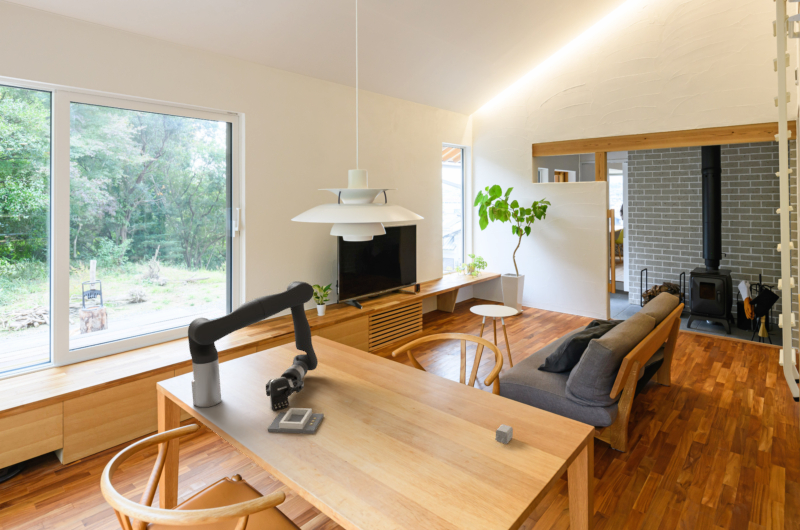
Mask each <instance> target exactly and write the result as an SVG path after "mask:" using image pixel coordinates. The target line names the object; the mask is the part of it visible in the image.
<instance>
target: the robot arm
mask: <svg viewBox="0 0 800 530" xmlns="http://www.w3.org/2000/svg"><path fill="white" fill-rule="evenodd" d="M314 293H315V290H314V287H313V286H312V285H311V284H310V283H308V282H304V281H292V282H291V283H289V284H288V285H287V287H286V290H284V291H282V292H278V293H275V294H269V295H264V296H259V297H257V298H254V299H253V298H252V299H251V300H249V301H246V302H244V303H242V304H241V305H239V306H238V307H237V308H235V309H234V310H232V311H231V312H230V313H228V314H226V315H223V316H221V317H218V318H215V319H211V320H210V319H208V318H206V317H197V318H195V319H193V320H192V321H191V322H190V323H189V325H188V328H187V337H188V338H187V339H188V347H189V348H188V349H189V353H190V356H191V364H192V376H193V380H192V381H191V393H192V405H193V406H197V407H198V408H208V407H213V406H216V405H219V404H220V403H221V402H222V393H221V391H222V390H221V378H220V377H221V376H220V365H219V352H218V350H217V347H216V344H215V342H217V341H219V340H221V339H222V338H225V337H226V336H228V335H231V334H232V333H233V332H236V331H240V330H241V329H244V328H246V327H247V328H248V327H249V326H251V325H255V324H256V323H259V322H261V321H263V320H266V319H268V318H271V317H272V316H274V315H277V314H279V313H281V312H283V311H284V310H287V309H290V313H291V317H292V323H293V324H292V325H293V329H294V341H295V348H296V350H299V351H302V352H305V354H297V355H295V356H294V357H293V360H292V365H291V366H289V367H288V368H287V369H286V370H285V371H284V372H283V373H282V374H281V375H280V377H285V378H286V379H288V381H289V389H288V390H287V391H286V397H288V398H289V397H290V396H291V395H293V394H294V393H297V394H298V393H300V392H301V390H303V389H304V388H305V381H304V380H303V379H304V378H305V376H306V375H307V373H308V371H314V370H316V369H317V367H318V363H319V361H318V357H317V354H316V353H315V350H314V346H313V341H312V331H311V326H310V324H309V320H308V318H307V315H306V312H305V304H307V303H308V302H310V300H312V298H313V297H314ZM271 380H272V379H269V380H268V381H267V383H266V384H265V392H266V396H267V397H270V391H269V384H270V381H271Z"/></svg>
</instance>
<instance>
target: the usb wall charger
mask: <svg viewBox="0 0 800 530" xmlns="http://www.w3.org/2000/svg"><path fill="white" fill-rule="evenodd" d="M513 429H514V428H513V427H512V426H511V425H508V424H507V425H506V424H500V426H499V427H498V428H497V429H496V430H495V438H494V439H495V440H494V441H496V442H498V443H502V444H505V445H507V444H509V442H510V441H511V440H512V439H513V435H514V433H513V432H514V430H513Z"/></svg>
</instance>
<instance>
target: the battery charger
mask: <svg viewBox="0 0 800 530" xmlns="http://www.w3.org/2000/svg"><path fill="white" fill-rule="evenodd" d="M270 380H271V381H270V384H269V391H270V396H269V399H270V400H269V401H270V409H271V410H272V411H279V410H282V409H286V408H287V407H289V406H290V404H289V403H290V402H289V397H286V391H287V390H288V389H289V381H288V379H286V378H285V377H281V376H279V377H277V378H273V379H270Z"/></svg>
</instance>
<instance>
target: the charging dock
mask: <svg viewBox="0 0 800 530" xmlns="http://www.w3.org/2000/svg"><path fill="white" fill-rule="evenodd" d="M323 419H324V413H321V412H320V413H319V412H318V413H316V412H315V413H314V412H313V409H312V408H304V407H289V409H288V410H287V411H280V412H279V413H278V415H277V416H276V417H275V418H274V419H273V421H272V422H271V423H270V425H269V426H268V427H267V433H283V432H286V433H289V434H309V435H311V434H313V435H314V434H315V433H316V431H317V429H318V427H319V426H318V425H320V424H321V422H322V420H323ZM286 433H285V434H286Z"/></svg>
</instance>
